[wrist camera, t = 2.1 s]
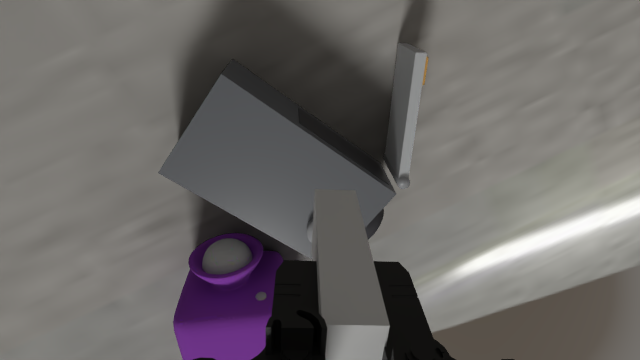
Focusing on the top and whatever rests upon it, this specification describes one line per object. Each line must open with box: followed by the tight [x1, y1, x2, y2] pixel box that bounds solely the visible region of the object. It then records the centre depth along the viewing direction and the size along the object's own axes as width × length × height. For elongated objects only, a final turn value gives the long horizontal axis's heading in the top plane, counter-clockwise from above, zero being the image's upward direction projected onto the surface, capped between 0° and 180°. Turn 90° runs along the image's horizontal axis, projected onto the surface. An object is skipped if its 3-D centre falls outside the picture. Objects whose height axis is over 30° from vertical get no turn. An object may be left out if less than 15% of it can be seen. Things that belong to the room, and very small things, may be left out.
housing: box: [158, 59, 396, 259], centre depth 33 cm, size 18×9×7 cm, turn 53°
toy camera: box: [173, 233, 283, 360], centre depth 37 cm, size 11×14×10 cm
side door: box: [383, 43, 428, 189], centre depth 32 cm, size 10×2×6 cm, turn 178°
